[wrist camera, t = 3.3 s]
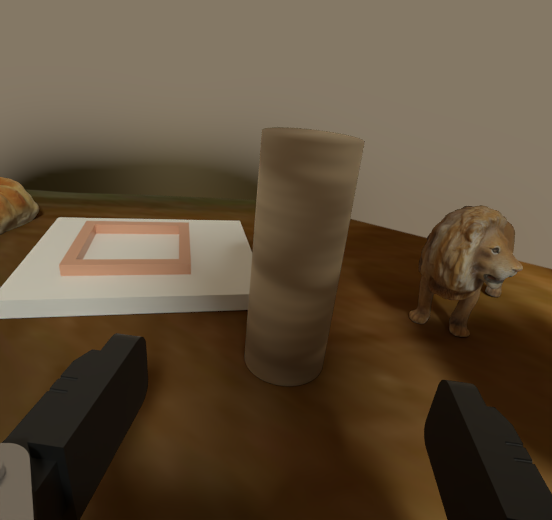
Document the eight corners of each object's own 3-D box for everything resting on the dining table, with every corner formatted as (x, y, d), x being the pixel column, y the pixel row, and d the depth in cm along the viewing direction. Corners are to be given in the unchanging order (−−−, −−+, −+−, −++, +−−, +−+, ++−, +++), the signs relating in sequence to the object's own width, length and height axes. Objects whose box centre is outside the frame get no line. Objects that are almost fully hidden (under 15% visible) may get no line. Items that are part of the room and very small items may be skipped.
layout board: (239, 232, 38) (240, 213, 38) (266, 309, 26) (269, 283, 25) (60, 230, 35) (57, 208, 34) (-6, 318, 22) (-14, 288, 22)
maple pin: (309, 332, 24) (342, 131, 19) (334, 382, 20) (382, 147, 15) (239, 336, 23) (254, 124, 18) (251, 389, 19) (274, 140, 14)
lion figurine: (478, 380, 22) (539, 229, 18) (386, 341, 24) (423, 202, 20) (504, 286, 33) (545, 182, 29) (440, 267, 36) (470, 168, 32)
